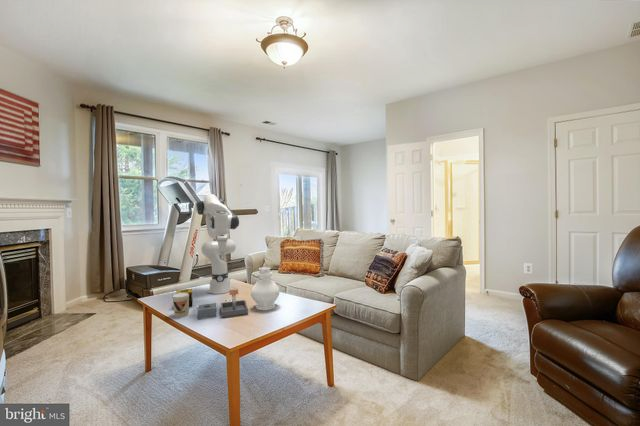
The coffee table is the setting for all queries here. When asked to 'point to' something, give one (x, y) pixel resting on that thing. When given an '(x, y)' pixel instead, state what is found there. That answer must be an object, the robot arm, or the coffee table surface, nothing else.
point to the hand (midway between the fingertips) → (222, 257)
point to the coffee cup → (181, 304)
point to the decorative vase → (265, 290)
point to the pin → (233, 298)
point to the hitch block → (207, 311)
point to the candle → (188, 293)
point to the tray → (240, 310)
